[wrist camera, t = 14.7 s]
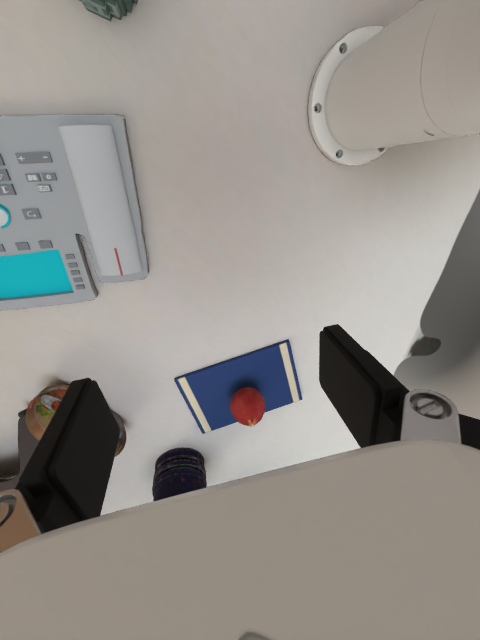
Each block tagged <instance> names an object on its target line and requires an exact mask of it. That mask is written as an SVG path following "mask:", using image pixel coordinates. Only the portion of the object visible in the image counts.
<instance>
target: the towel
mask: <svg viewBox="0 0 480 640" xmlns="http://www.w3.org/2000/svg"><path fill="white" fill-rule="evenodd" d="M174 381H175V382H176V384H177V386H178V388H179V390H180V392H181V394H182V396H183V398H184V399H185V401H186V403H187V405H188V407H189V409H190V411H191V413H192V415H193V416H194V418H195V420H196V422H197V424H198V426H199V428H200V430H201V432H202V433H203V434H204V433H208V432H211V431H212V430H215V429H218V428H221V427H224V426H227V425H230V424H233V423H235V422H238V421H237V420H236V419H235V418H234V417H233V415H232V413H231V410H230V402H231V398H232V397H233V395H234V394H235V392H237V391H238V390H239V389H241V388H246V387H251V388H254V389H256V390H257V391H259V392H260V393H261V395H262V396H263V398H264V401H265V412H267V411H270V410H273V409H276V408H279V407H282V406H285V405H287V404H290V403H293V402H297V401H300V400H302V396H301V391H300V387H299V382H298V378H297V373H296V369H295V364H294V360H293V355H292V351H291V347H290V342H289V340H286V341H283V342H280V343H277V344H274V345H271V346H268V347H265V348H262V349H259V350H256V351H253V352H250V353H247V354H244V355H241V356H239V357H236V358H233V359H230V360H227V361H224V362H221V363H218V364H215V365H212V366H209V367H206V368H203V369H200V370H197V371H194V372H191V373H189V374H186V375H183V376H180V377H177V378H175V380H174Z"/></svg>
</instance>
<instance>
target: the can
mask: <svg viewBox="0 0 480 640" xmlns="http://www.w3.org/2000/svg"><path fill="white" fill-rule="evenodd" d="M80 1H82V2H83V4H84V5H85V7H86V9H87V10H88V11H90V12H92V13H95V14H97V15H99V16H101V17H103V18H105V19H107V20H110V21H111V16H114V17H116V18H118V19H120V20H121V14H122V15H124V16H126V12H127V11H128V12H130V13H131V10H132V2H134V3H136V4H137V0H80Z"/></svg>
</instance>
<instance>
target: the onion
mask: <svg viewBox="0 0 480 640" xmlns="http://www.w3.org/2000/svg"><path fill="white" fill-rule="evenodd" d="M230 410H231V413H232V415H233V417H234V418H235V419H236V420H237V421H238V422H239V423H241V424H243V425H247V426H254V425H255V424H257V423H258V422H259V421H260V420H261V419H262V417H263V414H264V412H265V401H264V398H263V396H262V395H261V393H260V392H259V391H257V390H256V389H254V388H251V387H246V388H241V389H239V390H238V391H237V392H235V394H234V395H233V397H232V398H231V402H230Z"/></svg>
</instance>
